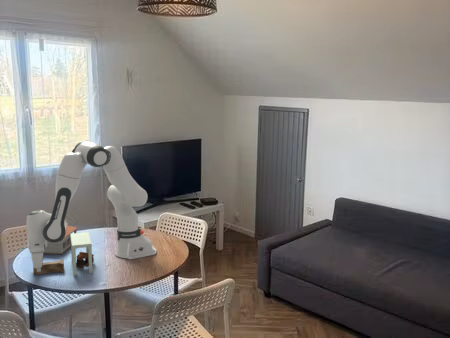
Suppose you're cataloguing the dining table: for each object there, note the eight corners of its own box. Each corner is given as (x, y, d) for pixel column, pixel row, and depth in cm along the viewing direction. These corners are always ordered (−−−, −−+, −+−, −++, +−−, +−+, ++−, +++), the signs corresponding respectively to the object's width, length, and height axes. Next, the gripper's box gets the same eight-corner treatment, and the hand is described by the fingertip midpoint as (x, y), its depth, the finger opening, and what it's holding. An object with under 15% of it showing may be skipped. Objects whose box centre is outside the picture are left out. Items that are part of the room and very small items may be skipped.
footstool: (89, 259, 227) (88, 232, 225) (92, 273, 210) (91, 243, 207) (71, 261, 224) (70, 233, 221) (73, 276, 207) (72, 245, 204)
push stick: (63, 267, 217) (63, 259, 216) (64, 272, 211) (63, 263, 210) (34, 271, 211) (33, 262, 211) (33, 276, 206) (33, 267, 205)
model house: (62, 256, 233) (60, 229, 230) (34, 255, 233) (32, 228, 231) (79, 241, 256) (78, 217, 253) (53, 240, 257) (52, 216, 254)
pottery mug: (69, 266, 218) (74, 250, 221) (86, 270, 224) (90, 254, 227) (81, 268, 210) (86, 251, 212) (97, 271, 216) (102, 255, 219)
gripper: (31, 237, 215) (33, 262, 218) (29, 250, 197) (31, 278, 199) (44, 235, 218) (46, 261, 220) (44, 249, 199) (45, 276, 201)
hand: (39, 269), depth 209 cm, fingers closed on push stick, 3 cm apart
